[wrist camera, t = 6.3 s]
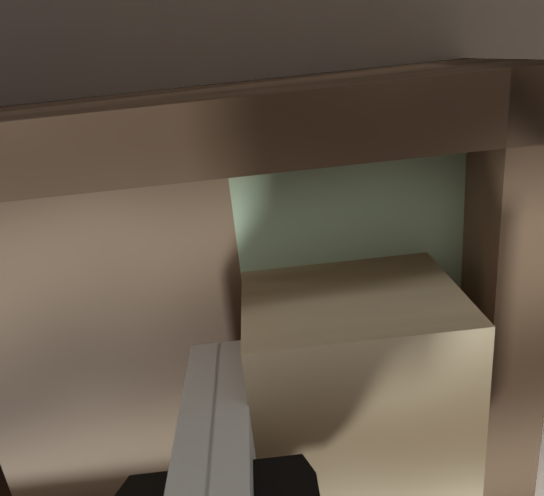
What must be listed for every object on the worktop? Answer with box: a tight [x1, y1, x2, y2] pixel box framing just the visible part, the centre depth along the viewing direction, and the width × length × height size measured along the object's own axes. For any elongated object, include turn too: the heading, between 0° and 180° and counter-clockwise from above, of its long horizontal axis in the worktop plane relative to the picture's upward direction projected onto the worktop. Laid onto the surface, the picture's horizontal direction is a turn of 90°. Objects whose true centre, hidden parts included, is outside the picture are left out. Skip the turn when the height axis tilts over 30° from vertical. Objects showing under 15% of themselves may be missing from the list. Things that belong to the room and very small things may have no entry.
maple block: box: [241, 252, 495, 496], centre depth 13 cm, size 5×5×4 cm
